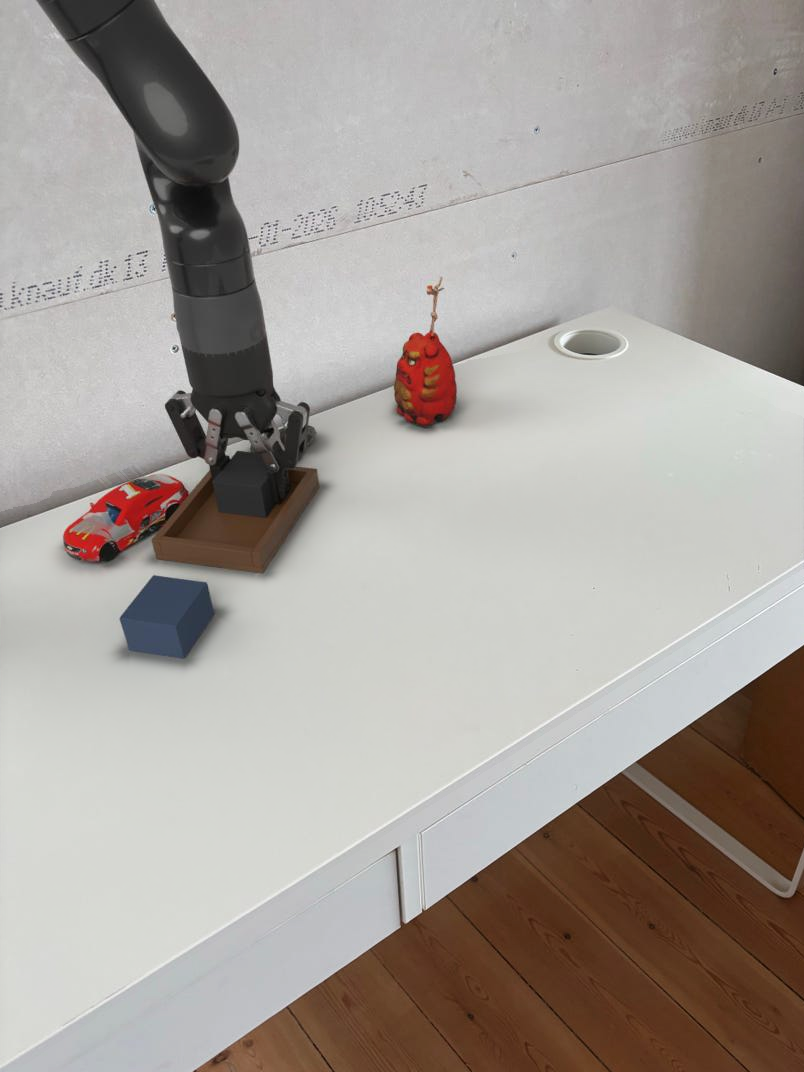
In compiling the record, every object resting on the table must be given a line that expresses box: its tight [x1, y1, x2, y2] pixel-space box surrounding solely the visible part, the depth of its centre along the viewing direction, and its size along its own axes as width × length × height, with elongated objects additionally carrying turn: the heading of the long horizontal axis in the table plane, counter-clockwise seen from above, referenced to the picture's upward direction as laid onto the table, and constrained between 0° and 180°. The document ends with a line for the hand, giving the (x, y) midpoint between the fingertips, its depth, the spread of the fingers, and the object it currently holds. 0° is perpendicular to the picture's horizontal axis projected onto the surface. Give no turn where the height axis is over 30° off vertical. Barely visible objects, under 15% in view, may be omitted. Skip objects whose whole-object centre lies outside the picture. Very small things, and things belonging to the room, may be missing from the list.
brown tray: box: [151, 465, 320, 574], centre depth 98 cm, size 11×15×2 cm
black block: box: [212, 450, 276, 518], centre depth 100 cm, size 5×6×4 cm
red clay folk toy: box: [393, 276, 458, 428], centre depth 110 cm, size 8×7×15 cm
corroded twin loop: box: [249, 425, 317, 453], centre depth 109 cm, size 5×8×1 cm, turn 136°
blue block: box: [118, 574, 215, 659], centre depth 85 cm, size 5×6×4 cm
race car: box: [62, 473, 190, 562], centre depth 96 cm, size 13×5×4 cm, turn 143°
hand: (253, 495), depth 100 cm, fingers closed on black block, 5 cm apart
